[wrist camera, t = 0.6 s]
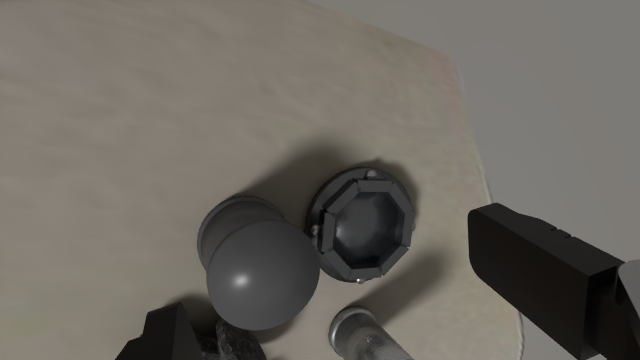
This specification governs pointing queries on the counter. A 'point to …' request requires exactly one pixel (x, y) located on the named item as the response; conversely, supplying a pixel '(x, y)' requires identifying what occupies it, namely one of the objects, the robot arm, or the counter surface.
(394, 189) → the flange
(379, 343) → the fitting
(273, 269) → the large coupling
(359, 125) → the counter surface
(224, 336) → the valve
